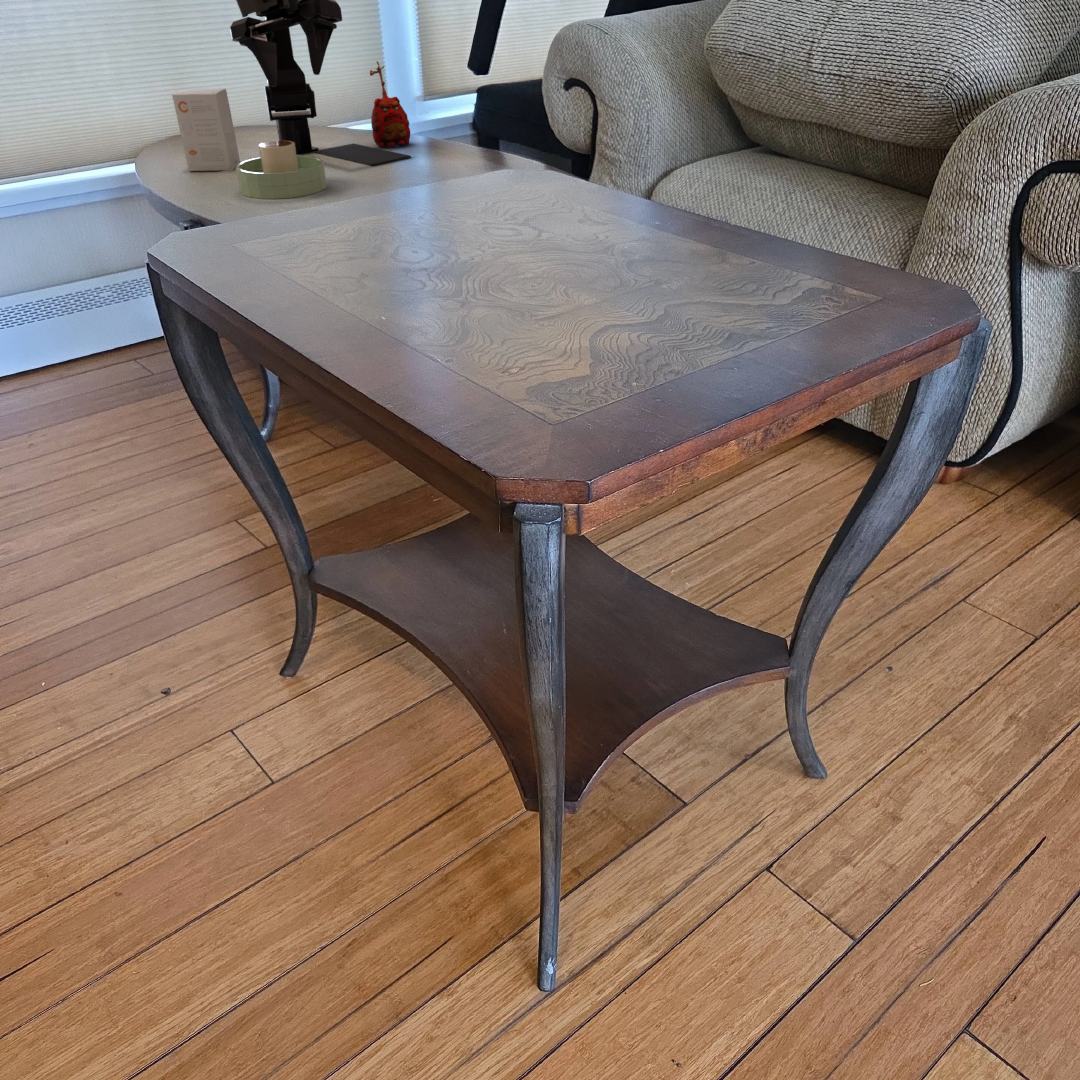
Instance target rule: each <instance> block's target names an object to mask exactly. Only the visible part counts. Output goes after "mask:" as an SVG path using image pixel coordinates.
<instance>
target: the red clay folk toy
mask: <svg viewBox="0 0 1080 1080" xmlns="http://www.w3.org/2000/svg"><path fill="white" fill-rule="evenodd" d="M376 63H377V68H375V70H372V69H370V70H369V76H374V75H375V74H378V75H379V78H380V84H381V87H382V88H381V89H382V90H381V91H382V92H381V93H382V97H381V98H379V97H377V98H375V99H374V102H373V108H372V111H371V115H370V116H371V118H370V120H371V121H370V122H371V129H372V138H373V141H374V143H375V145H376V146H378V147H379V148H382V149H383V148H389V147H390V148H392V147H406V146H408V145H410V139H411V128H410V121H409V119H408V114H407V112H405V110H404V108H403V105H401V101H400V99H399V98H398V96H392V97H390V96H389V97H388V94H387V91H386V89H385V85H386V82H385V81H384V80H383V73H382V70H383V69H384V68H385V66H384V65H383V66H382V67H381V66H380V65H381V64H380V63H379V60H378V61H376Z"/></svg>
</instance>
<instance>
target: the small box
mask: <svg viewBox="0 0 1080 1080" xmlns="http://www.w3.org/2000/svg"><path fill="white" fill-rule="evenodd" d="M171 97H172V101H173V106H174V110H175V115H176V119H177V125H178V129H179V133H180V137H181V143H182V147H183V152H184V156H185V157H184V158H185V160H186V165H187V170H188V172H209V171H210V172H211V171H213V172H214V171H218V172H219V171H229V170H234V169H236V165H237V164H239V163H241V159H240V154H239V150H238V143H237V138H236V133H235V127H234V122H233V117H232V112H231V108H230V102H229V96H228V91H227V88H193V89H192V88H191V89H190V88H189V89H188V88H187V89H185V88H183V89H181V90H179V91H176V92H174V93H172V94H171Z"/></svg>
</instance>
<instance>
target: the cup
mask: <svg viewBox="0 0 1080 1080" xmlns="http://www.w3.org/2000/svg"><path fill="white" fill-rule="evenodd" d="M258 150H259V155H260V156H259V157H261V162H262V168H263V173H281V172H291V171H298V170H299V168H298V161H297V155H296V148H295V143H294V142H292V141H279V140H270V141H264V142H261V143H259V144H258Z"/></svg>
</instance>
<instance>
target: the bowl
mask: <svg viewBox="0 0 1080 1080" xmlns="http://www.w3.org/2000/svg"><path fill="white" fill-rule="evenodd" d="M297 161H298V168H299V170H298V171H291V172H281V173H263V168H262V162H261V156H259V157H253V158H250V159H246V160H243V161H240V163H239V164H237V165H236V167H235V172H236V178H237V179H236V180H237V184H238V189H239V193H240V194H241V195H243V196H245V197H249V198H253V199H262V200H279V199H280V200H281V199H292V198H301V197H305V196H310V195H314V194H317V193H320V192H322V191H324V190H325V189H326V188H327V184H328V183H327V178H326V177H327V176H326V170H325V162H324V160H323V159H322V158H320V157H317V156H313V155H308V154H306V155H297Z"/></svg>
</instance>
